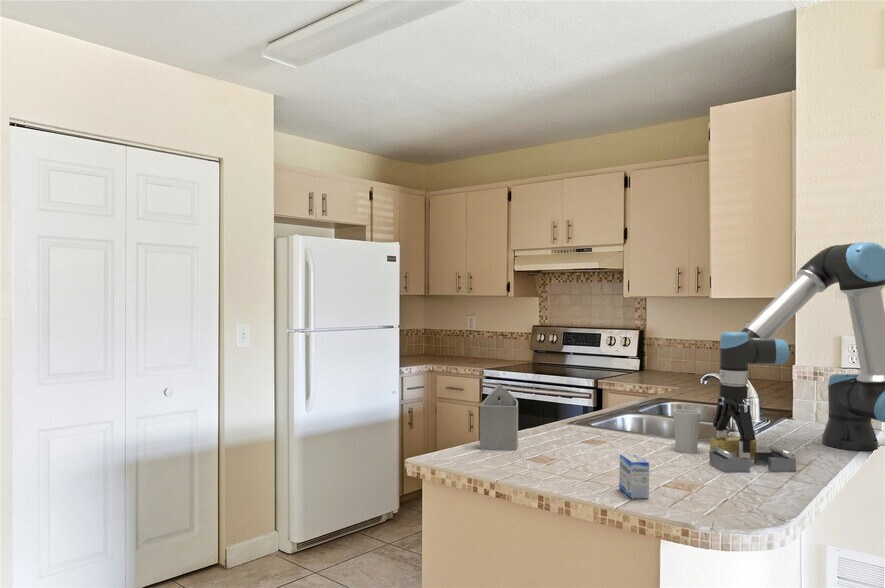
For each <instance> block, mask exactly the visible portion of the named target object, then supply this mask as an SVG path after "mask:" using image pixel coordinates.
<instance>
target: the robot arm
mask: <svg viewBox="0 0 885 588" xmlns="http://www.w3.org/2000/svg"><path fill="white" fill-rule="evenodd" d="M837 283H838V285H839V291H840V292H841V293H843V294H845V295H846V297H847V302H848V308H849V315H850V319H851V323H852V329H853V335H854V341H855V346H856V347H855V348H856V350H857V351H856V352H857V357H858V363H859V367H860V373H858V374H857V373H856V374H855V373H850V374H849V373H848V374H847V373H845V374H844V373H842V374H841V373H840V374H832V375H830V376H829V378H828V384H827V388H828V390H827V391H828V392H827V393H828V395H827V396H828V397H827V398H828V402H827V403H828V420H827V423H826V426H825V427H824V430H823V433H822V436H821V443H822V444H824V445H825V446H828V447H831V448H837V449H841V450H842V449H843V450H850V451H861V452H862V451H863V452H868V451H869V452H870V451H877V450H878V449H879V440H878V439H877V435H876V433H875V430H874V427H873V422H872V420H876V421H879V422H881V423H885V307H884V301H883V295H882V290H883V289H884V288H885V247H883V246H881V244H879V243H876V242H868V241H867V242H866V241H865V242H864V241H860V242H853V243H846V244H835V245H831V246H829V247H825V248H824V249H822V250H820V251H819V252H818V253H817V254H815V255H814V256H813V257H811V258H810V259H809V260H808V261H807V262H806V263H805V264H804V265H802V267H800V268H799V270H797V272H796V277H795V278H794V279H793V280H792V281H791V282H790V283H789V284H788V285H787V286H786V287H785V288H784V289H783V290H781V292H779V294H778V295H776V296H775V297H774V298H773V299H772V300H771V301H770V302H769V303H768V305H767V306H765V307H764V308H763V309H762V311H760V312H758V314H757V315H756V316H755V317H754V318H753V319H752V320H751V321H750V322H749V323H748V324H747V325H746V326H745V327H744V328H743V329H742V330H740V331H723V332H722V333H721V335H720V337H719V339H720V340H719V373H718V376H719V382H720V383H721V384H719V397H718V398H717V404H716V405H717V406H716V411H715V413H714V418H713V422H712V427H713V428H715V430H716V431H717V432H716V438H718V437H728V428H727V427H728V425H729V422H730V421H731V419H732V420H734V423H735V424H736V427H737V431H738V434H739V437H741V439H739V458H748V459H750V441H752V440H756V435H755V430H754V426H753V420H752V415H751V405H749V404H744V401H745V400H746V399H747V398H748V396H749V395H748V392H749V391H748V390H749V387H748V386H747V385H748V384H749V365H773V366H776V365H783V364H785V363H786V362H787V361H788V360H789V359H790V348H789V347H790V346H789V344H788V343H787V341H786V340H784V339H781V338H772V337H773V336H774V335H775V334H776V333H777V332H778V331H779V330H780V329H781V328H782V327H783V326H784V325H785V324H786V323H787V322H788V321H789V320H790V319H792V317H794V316H795V314H797V313H798V312H799V310H801V309H802V308H803V307H804V306H805V305H806V304H807V303H808V302H809V301H810V300H811V299H812V298H813V297H814V296H815V295H816V294H817V293H823V292H824V291H826V290H827V289H828V288H829V287H831V286H832V285H834V284H837Z"/></svg>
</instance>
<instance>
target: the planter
mask: <svg viewBox="0 0 885 588" xmlns="http://www.w3.org/2000/svg"><path fill="white" fill-rule="evenodd" d="M518 447H519V401H518V399H517V398H516V397H515V396H514V395H513V394H512V393H511V392H509V391H508V390H507V389H506V388H505V387H503V386H502V385H501V384H497V386H496V387H495V388H494V389H493V390H492V391H491V392H490V393H489V394H488V395H487V397H486V398H485V399H484V400H483V401H482V402H481V403H480V406H479V450H482V451H484V450H485V451H486V450H487V451H517V450H518Z"/></svg>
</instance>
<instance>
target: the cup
mask: <svg viewBox="0 0 885 588" xmlns="http://www.w3.org/2000/svg"><path fill="white" fill-rule="evenodd" d="M672 416H673V426H674V427H673V429H674V441H675V442H674V443H675V451H676V452H678V453H679V452H680V453H685V454H697V453H698V451H699V450H698V447H699V435H700V423H701V422H700V421H701V412H700V411H699V410H695V409H694V410H692V409H684V408H683V409H674V410H672Z"/></svg>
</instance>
